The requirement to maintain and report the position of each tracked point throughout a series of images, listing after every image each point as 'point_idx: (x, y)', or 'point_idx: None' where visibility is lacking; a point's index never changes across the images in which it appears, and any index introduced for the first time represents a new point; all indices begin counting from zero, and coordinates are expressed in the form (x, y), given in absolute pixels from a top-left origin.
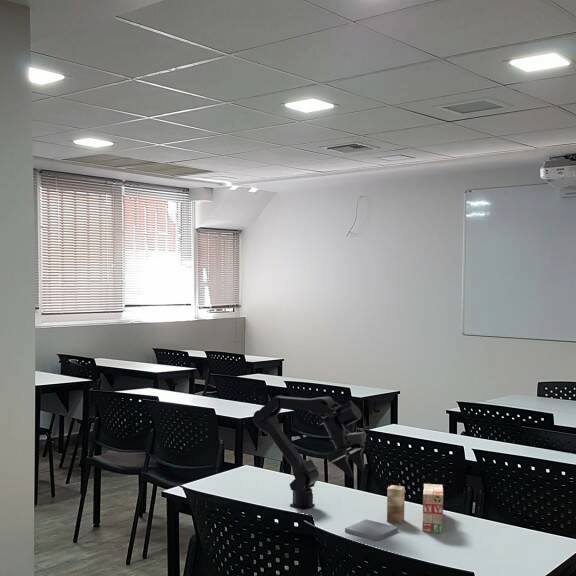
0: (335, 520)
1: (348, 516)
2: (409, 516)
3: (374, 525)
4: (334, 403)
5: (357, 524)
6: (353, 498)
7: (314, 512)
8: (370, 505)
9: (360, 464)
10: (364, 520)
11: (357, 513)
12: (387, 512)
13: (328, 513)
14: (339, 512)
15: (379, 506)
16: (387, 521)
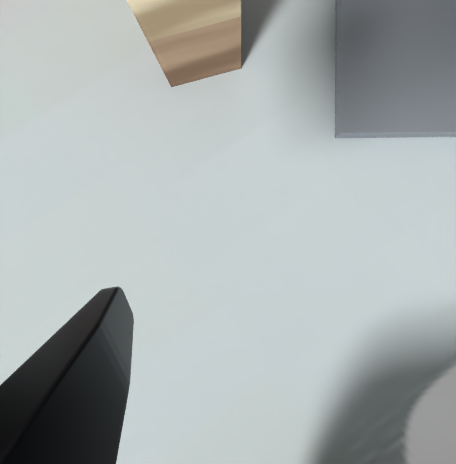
0: (408, 284)
1: (304, 271)
2: (83, 27)
3: (402, 36)
4: None
5: (452, 116)
6: None
7: (371, 449)
8: (59, 291)
9: (90, 386)
10: (365, 127)
11: (227, 264)
12: (240, 40)
13: (334, 382)
14: (279, 347)
15: (41, 244)
16: (239, 65)
